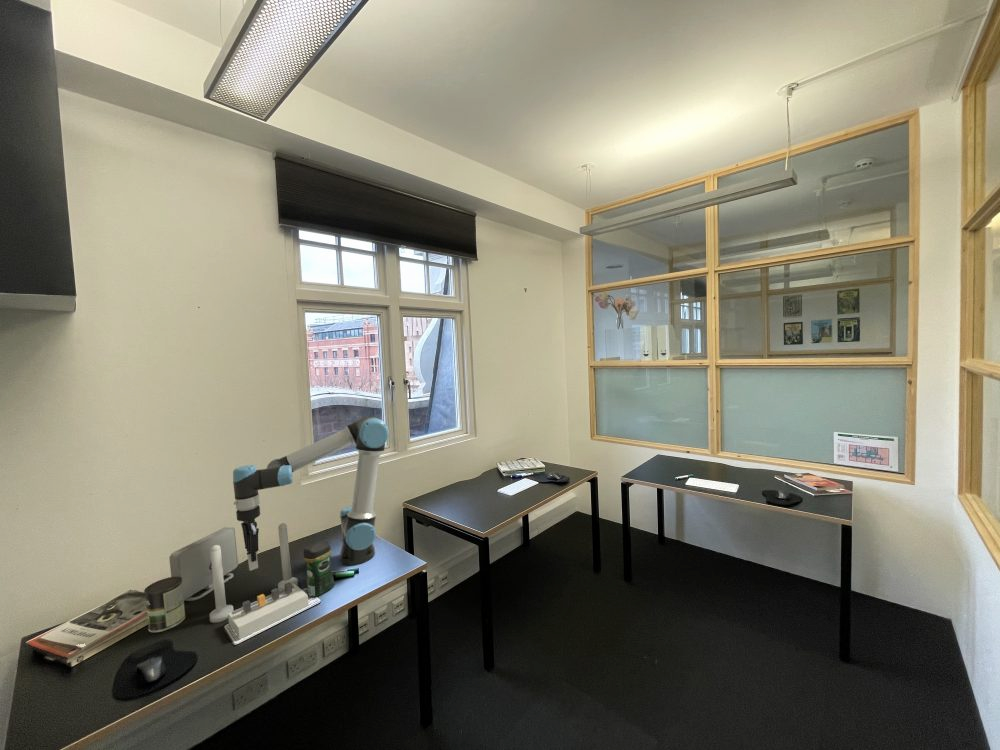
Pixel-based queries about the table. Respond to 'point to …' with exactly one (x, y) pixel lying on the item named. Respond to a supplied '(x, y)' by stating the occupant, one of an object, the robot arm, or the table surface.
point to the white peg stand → (218, 587)
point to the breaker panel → (267, 612)
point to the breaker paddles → (262, 601)
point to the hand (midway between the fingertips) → (253, 568)
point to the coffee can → (164, 604)
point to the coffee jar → (318, 568)
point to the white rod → (285, 558)
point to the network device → (203, 562)
